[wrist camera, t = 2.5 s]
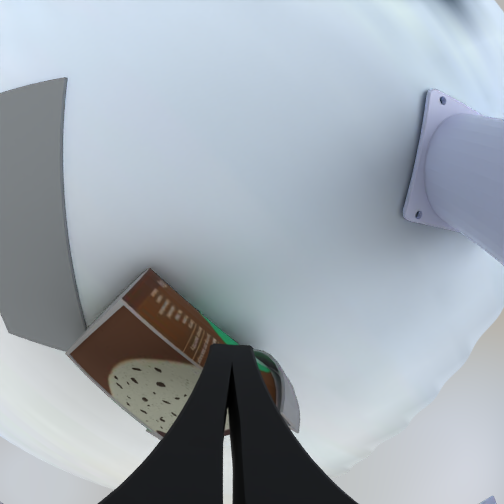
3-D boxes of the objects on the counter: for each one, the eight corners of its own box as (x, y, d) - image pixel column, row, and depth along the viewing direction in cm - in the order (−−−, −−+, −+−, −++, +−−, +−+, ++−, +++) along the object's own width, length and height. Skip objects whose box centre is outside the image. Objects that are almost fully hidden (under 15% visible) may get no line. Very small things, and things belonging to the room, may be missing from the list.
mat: (67, 77, 11) (64, 77, 11) (95, 356, 20) (93, 358, 19) (-30, 104, 10) (-32, 104, 10) (10, 330, 19) (8, 332, 18)
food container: (107, 306, 20) (194, 387, 22) (60, 357, 15) (166, 445, 17) (206, 215, 14) (319, 343, 17) (139, 281, 9) (308, 431, 11)
